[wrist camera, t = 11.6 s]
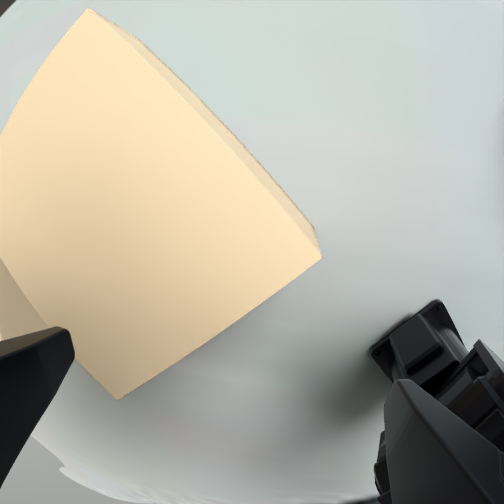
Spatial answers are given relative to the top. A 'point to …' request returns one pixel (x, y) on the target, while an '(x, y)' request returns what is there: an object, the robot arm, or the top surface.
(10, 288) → the carton flap
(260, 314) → the top surface
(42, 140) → the carton
